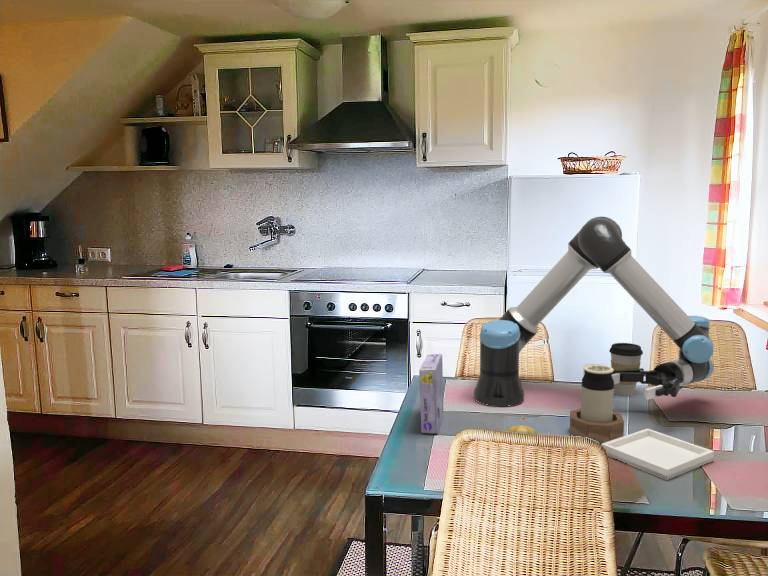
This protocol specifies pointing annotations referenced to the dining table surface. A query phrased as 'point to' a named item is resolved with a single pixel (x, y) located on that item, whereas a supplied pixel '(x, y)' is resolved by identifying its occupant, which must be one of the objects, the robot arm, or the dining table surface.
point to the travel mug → (597, 394)
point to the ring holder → (596, 427)
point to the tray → (658, 453)
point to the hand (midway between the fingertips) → (624, 388)
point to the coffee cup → (625, 364)
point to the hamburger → (522, 428)
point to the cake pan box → (431, 393)
